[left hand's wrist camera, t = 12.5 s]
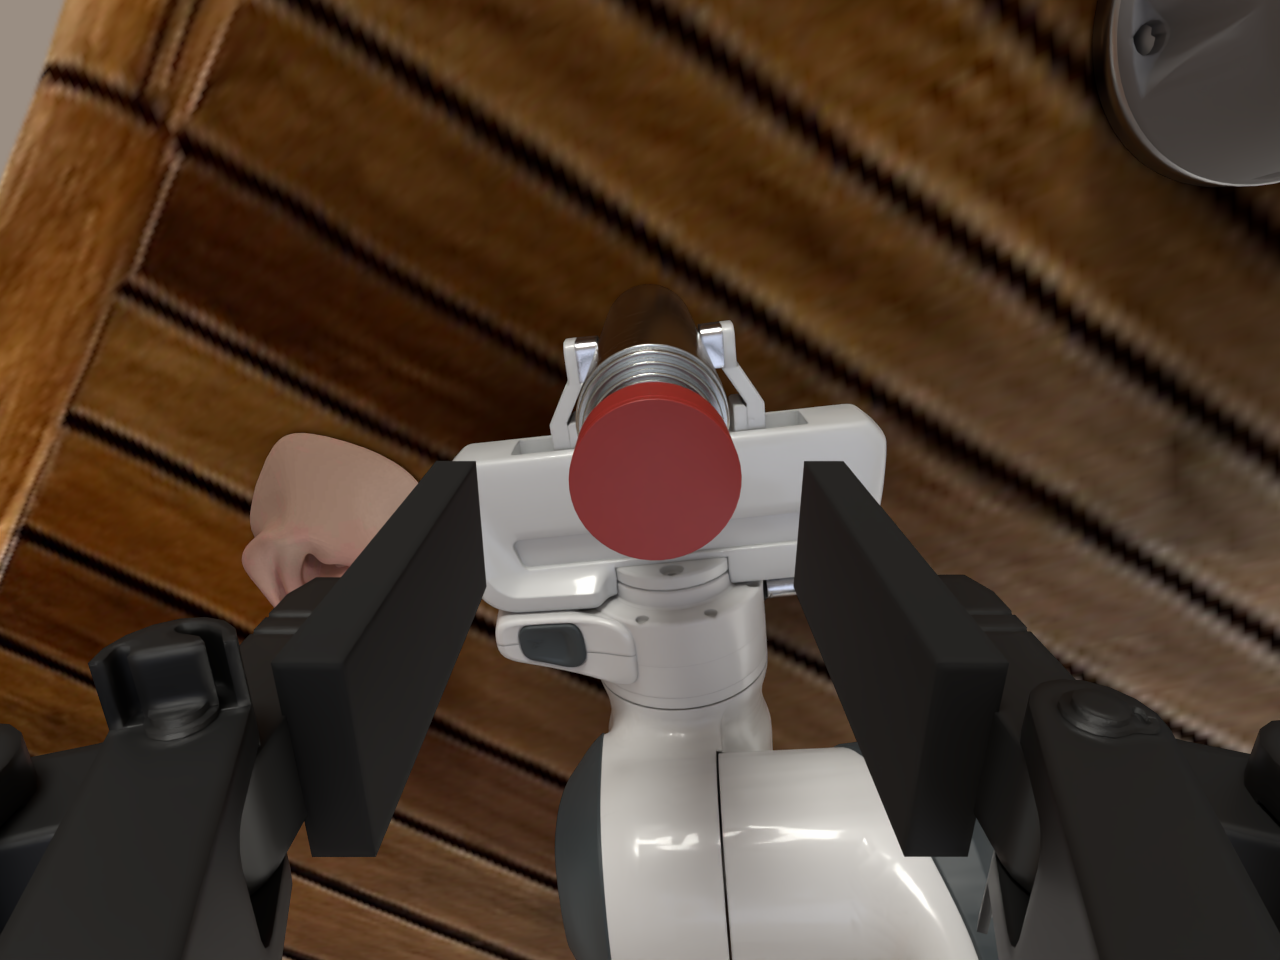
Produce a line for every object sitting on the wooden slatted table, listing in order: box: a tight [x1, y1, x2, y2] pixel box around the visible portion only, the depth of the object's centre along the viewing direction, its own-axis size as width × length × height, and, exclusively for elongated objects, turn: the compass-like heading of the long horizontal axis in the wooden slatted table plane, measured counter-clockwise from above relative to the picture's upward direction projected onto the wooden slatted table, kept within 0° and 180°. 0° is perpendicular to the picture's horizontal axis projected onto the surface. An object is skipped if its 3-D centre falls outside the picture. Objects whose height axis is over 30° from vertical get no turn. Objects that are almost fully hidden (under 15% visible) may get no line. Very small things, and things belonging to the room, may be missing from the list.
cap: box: [569, 382, 742, 560], centre depth 17 cm, size 4×4×2 cm
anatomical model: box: [242, 433, 418, 608], centre depth 40 cm, size 13×4×12 cm
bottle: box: [575, 284, 730, 436], centre depth 27 cm, size 5×5×23 cm
